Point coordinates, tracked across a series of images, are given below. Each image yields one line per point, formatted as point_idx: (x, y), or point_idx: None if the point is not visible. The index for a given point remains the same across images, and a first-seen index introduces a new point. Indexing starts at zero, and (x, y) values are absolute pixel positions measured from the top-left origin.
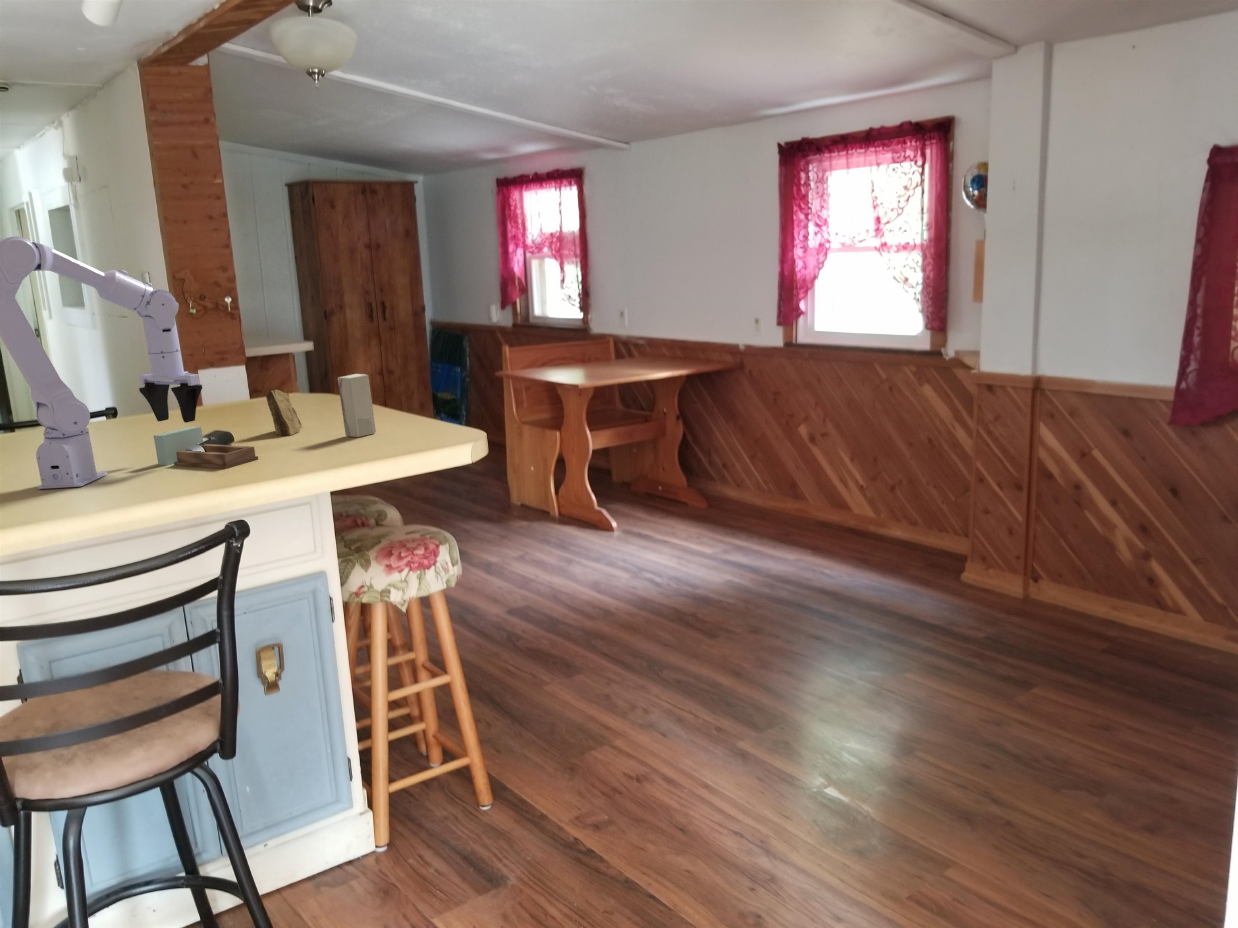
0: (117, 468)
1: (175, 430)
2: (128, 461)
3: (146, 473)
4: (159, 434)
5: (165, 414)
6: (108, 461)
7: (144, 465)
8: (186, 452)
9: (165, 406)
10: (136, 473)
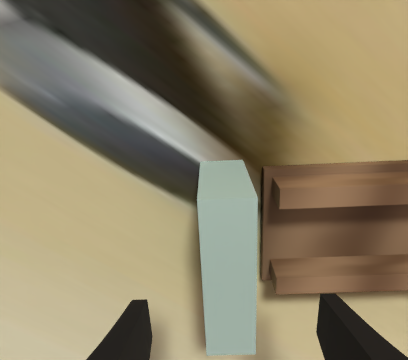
0: None
1: (209, 280)
2: (66, 276)
3: (265, 344)
4: (217, 342)
5: (142, 329)
6: (5, 290)
7: (170, 295)
8: (323, 292)
9: (126, 358)
10: None
